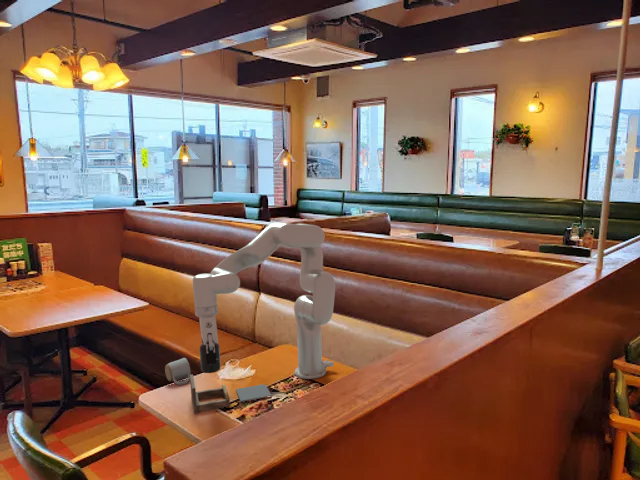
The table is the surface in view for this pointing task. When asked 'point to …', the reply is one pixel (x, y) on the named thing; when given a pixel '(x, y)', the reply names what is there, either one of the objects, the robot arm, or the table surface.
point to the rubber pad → (252, 392)
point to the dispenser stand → (207, 394)
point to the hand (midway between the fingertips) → (210, 359)
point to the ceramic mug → (178, 371)
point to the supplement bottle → (204, 367)
